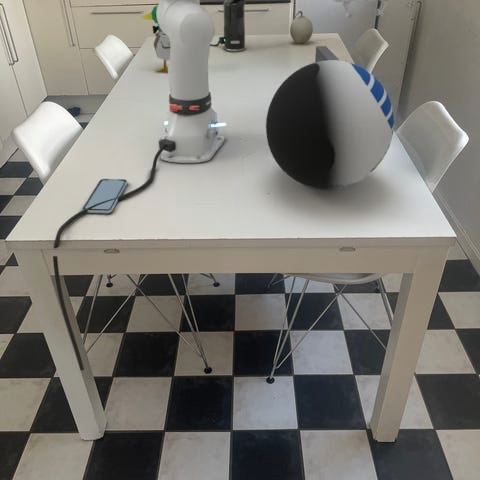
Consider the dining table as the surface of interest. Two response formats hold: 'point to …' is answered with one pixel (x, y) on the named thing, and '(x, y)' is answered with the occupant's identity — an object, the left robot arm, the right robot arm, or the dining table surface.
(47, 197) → the dining table surface
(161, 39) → the toy
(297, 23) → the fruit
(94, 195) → the smartphone
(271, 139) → the black and white ball
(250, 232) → the dining table surface
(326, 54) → the post
